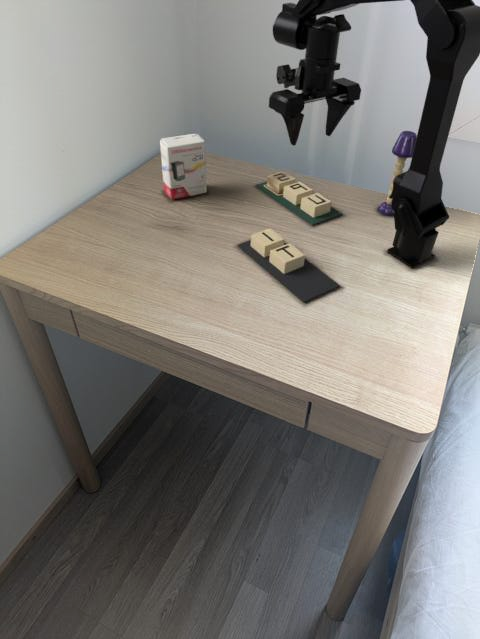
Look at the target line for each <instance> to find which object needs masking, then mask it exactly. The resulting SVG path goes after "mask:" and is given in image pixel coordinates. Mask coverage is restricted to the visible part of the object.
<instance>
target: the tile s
mask: <svg viewBox="0 0 480 639" xmlns="http://www.w3.org/2000/svg"><path fill="white" fill-rule="evenodd" d="M266 182H267V186H268V187H269V188H270V189H272V190H273V191H275V192H276V193H278V194H280V193H283V191H284V186H287V185H291V184H294V183H296V178H295V177H294V176H292V175H290V174H288V173H287V172H285V171H279V172H276V173H272V174H269V175H267V177H266Z"/></svg>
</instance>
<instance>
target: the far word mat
mask: <svg viewBox="0 0 480 639" xmlns="http://www.w3.org/2000/svg"><path fill="white" fill-rule="evenodd" d="M255 187H256V188H257V189H259V190H260V191H262V192H263V193H265V194H266V195H267V196H269V197H271V199H273V200H274V201H276V202H278V203H279V204H280V205H282V206H283V207H285V208H286V209H287V210H289V211H290V212H292V213H293V214H295V215H296V216H297V217H299V218H300V219H302V220H304V221H305V222H306V223H308V225H311V227H314V226H316V225H319V224H322V223H325V222H327V221H329V220H332V219H335V218H338V217H340V216H343V214H342V212H340V211H339V210H338V209H336V208H333V206H332V203H333V202H332V200H330V199H328V198H327V197H325V196H324V195H322V194H320V193H319V192H316V193H314V189H312V188H311V187H309V186H308V185H306V184H304V183H303V182H302V181H297V182H295V183H294V184H291V185H287V186H284V191H283V193H280V194H278V193H276V192H275V191H273V190H272V189H270V188H269V187H268V186H267V181H263V182H261V183H258V184H255Z"/></svg>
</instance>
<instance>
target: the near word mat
mask: <svg viewBox="0 0 480 639" xmlns="http://www.w3.org/2000/svg"><path fill="white" fill-rule="evenodd" d="M237 247H238V248H239V249H240V250H241V251H243V252H244V253H245V254H246V255H247V256H249V257H250V258H251V259H252V260H253V261H254V262H255V263H257V264H258V265H259V266H260V267H261V268H262V269H264V270H265V271H266V272H267V273H268V274H270V276H272V277H273V278H274V279H275V280H276V281H278V282H279V283H280V284H281V286H283V287H284V288H286V289H287V290H288V291H289V292H290V293H291V294H293V295H294V297H296V298H297V299H298V300H299V301H301V302H302V303H303V304H307V303H308V302H310V301H312V300H314V299H315V300H316V299H317V298H319V297H321V296H323V295H325V294H328V293H330V292H333V291H335V290H337V289H339V288H340V287H341V285H340V284H339V283H338V282H336V281H335V280H333V279H332V278H331V277H329V276H328V275H327V274H326V273H324V271H322V270H321V269H319V268H318V267H317V266H315V265H314V264H313V263H312V262H310V261H309V260H308V259H306V254H305V253H304V252H302V251H301V250H299V249H298V248H297V247H296V246H294V245H293V244H292V243H286V242H285V238H284V237H282V236H281V235H280V234H279V233H277V232H276V231H275V230H273V228H267V229H264V230H261V231H258V232H255V233H253V234H252V233H251V234H250V240H247V241H244V242H241V243H239V244H237Z"/></svg>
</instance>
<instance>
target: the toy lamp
mask: <svg viewBox="0 0 480 639" xmlns="http://www.w3.org/2000/svg"><path fill="white" fill-rule="evenodd" d="M416 138H417V133H416V132H414V131H411V130H403V131H401V132H400V133H399V136H398V137H397V138H396V140H395V143H394V145H393V147H392V149H391V153H392V154H393V155H394V156H396V159H397V161H396V162H395V165H394V166H395V168H394V170H393V175H392V176H391V183H390V185H389V190H388V192H387V198H386V201H383V202H381V203H380V204H379V206H378V208H377V211H378V212H379V213H380V214H381V215H384V216H389V217H391V216H393V217H394V211H393V210H392V207H391V203H392V199H389V197H390V195H391V194H392V191H393V181H394V178H395V176H397V175H399V174H402V173H404V168H405V166H406V161H407V159H412V155H413V151H414V146H415V142H416Z"/></svg>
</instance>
